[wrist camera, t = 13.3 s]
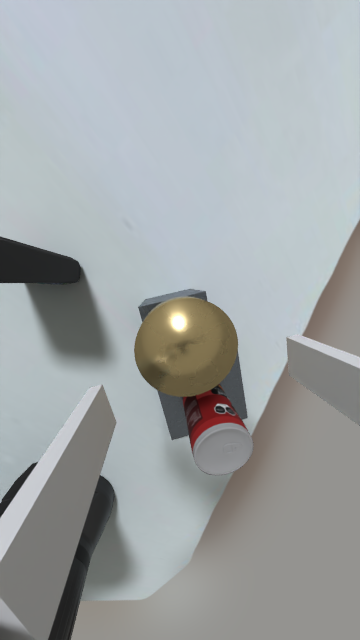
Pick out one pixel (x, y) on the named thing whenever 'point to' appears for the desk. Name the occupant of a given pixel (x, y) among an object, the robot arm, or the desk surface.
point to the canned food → (216, 432)
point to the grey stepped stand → (175, 404)
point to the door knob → (185, 346)
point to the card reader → (35, 265)
